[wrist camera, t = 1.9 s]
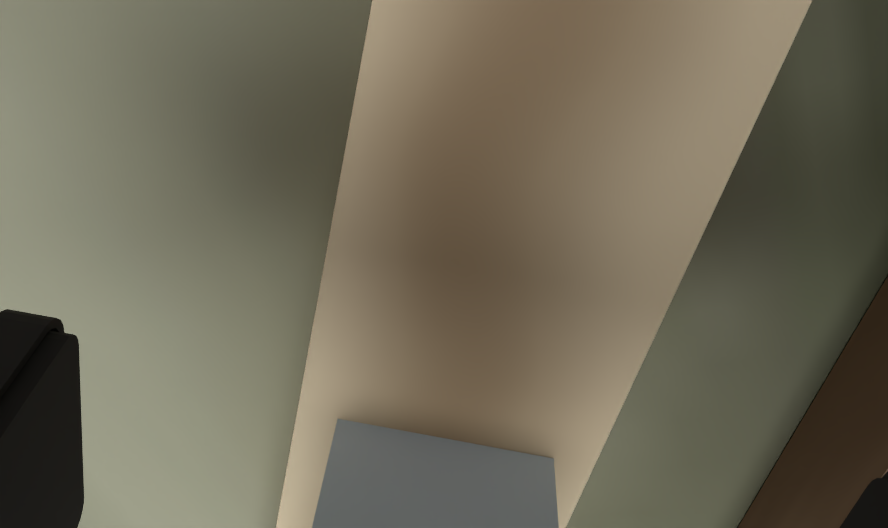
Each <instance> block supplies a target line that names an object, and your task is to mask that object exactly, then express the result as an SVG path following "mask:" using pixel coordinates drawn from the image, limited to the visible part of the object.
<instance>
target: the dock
mask: <svg viewBox="0 0 888 528" xmlns="http://www.w3.org/2000/svg"><path fill="white" fill-rule="evenodd" d="M886 472H888V277H887V278H886V280H885V282H884V283H883V285H882V287H881V288H880V290H879V292H878V293H877V295H876V297H875V298H874V300H873V302H872V303H871V305H870V307H869V309H868V310H867V312H866V314H865V315H864V317H863V319H862V320H861V322H860V324H859V325H858V327H857V329H856V330H855V332H854V334H853V335H852V337H851V339H850V340H849V342H848V344H847V345H846V347H845V349H844V350H843V352H842V354H841V355H840V357H839V359H838V361H837V362H836V364H835V366H834V367H833V369H832V371H831V372H830V374H829V376H828V377H827V379H826V381H825V382H824V384H823V386H822V387H821V389H820V391H819V392H818V394H817V396H816V397H815V399H814V401H813V402H812V404H811V406H810V408H809V409H808V411H807V413H806V414H805V416H804V418H803V419H802V421H801V423H800V424H799V426H798V428H797V429H796V431H795V433H794V434H793V436H792V438H791V439H790V441H789V443H788V444H787V446H786V448H785V449H784V451H783V453H782V454H781V456H780V458H779V460H778V461H777V463H776V465H775V466H774V468H773V470H772V471H771V473H770V475H769V476H768V478H767V480H766V481H765V483H764V485H763V486H762V488H761V490H760V491H759V493H758V495H757V496H756V498H755V500H754V501H753V503H752V505H751V507H750V508H749V510H748V512H747V513H746V515H745V517H744V518H743V520H742V522H741V523H740V525H739V527H738V528H839V527H840V526H841V524H842V523H843V521H844V520H845V518H846V517H847V515H848V514H849V513H850V511H851V510H852V508H853V507H854V505H855V504H856V502H857V501H858V499H859V498H860V496H861V495H862V493H863V492H864V490H865V489H866V487H867V486H868V484H869V483H870V482H871V481H872V480H874V479H876V478H882V477H883V476H884V474H885V473H886Z"/></svg>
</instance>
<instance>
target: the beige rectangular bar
mask: <svg viewBox="0 0 888 528" xmlns="http://www.w3.org/2000/svg"><path fill="white" fill-rule="evenodd" d="M811 2H812V0H372V5H371V11H370V16H369V22H368V27H367V33H366V38H365V44H364V49H363V55H362V60H361V66H360V71H359V76H358V82H357V87H356V93H355V98H354V104H353V109H352V115H351V120H350V126H349V131H348V137H347V142H346V147H345V153H344V158H343V164H342V169H341V175H340V180H339V186H338V191H337V197H336V202H335V208H334V213H333V219H332V224H331V229H330V235H329V240H328V246H327V251H326V257H325V262H324V268H323V273H322V279H321V284H320V290H319V295H318V300H317V306H316V311H315V317H314V322H313V328H312V333H311V339H310V344H309V350H308V355H307V361H306V366H305V371H304V377H303V382H302V388H301V393H300V399H299V404H298V410H297V415H296V421H295V426H294V432H293V437H292V443H291V448H290V453H289V459H288V464H287V470H286V475H285V481H284V486H283V492H282V497H281V503H280V508H279V514H278V519H277V524H276V528H312V525H313V521H314V516H315V512H316V508H317V504H318V499H319V495H320V491H321V487H322V482H323V478H324V474H325V470H326V466H327V461H328V457H329V453H330V449H331V444H332V440H333V436H334V432H335V427H336V423H337V419H342V420H348V421H353V422H359V423H364V424H370V425H375V426H381V427H386V428H391V429H397V430H402V431H408V432H413V433H419V434H424V435H429V436H435V437H440V438H446V439H451V440H456V441H462V442H467V443H473V444H478V445H483V446H489V447H494V448H500V449H505V450H511V451H516V452H521V453H527V454H532V455H538V456H543V457H548V458H554V468H555V482H556V496H557V511H558V525H559V528H566V526H567V523H568V521H569V519H570V517H571V515H572V513H573V511H574V508H575V506H576V504H577V502H578V500H579V498H580V496H581V493H582V491H583V489H584V487H585V485H586V483H587V481H588V479H589V476H590V474H591V472H592V470H593V468H594V466H595V464H596V461H597V459H598V457H599V455H600V453H601V451H602V449H603V447H604V444H605V442H606V440H607V438H608V436H609V434H610V432H611V429H612V427H613V425H614V423H615V421H616V419H617V417H618V414H619V412H620V410H621V408H622V406H623V404H624V402H625V400H626V397H627V395H628V393H629V391H630V389H631V387H632V385H633V382H634V380H635V378H636V376H637V374H638V372H639V370H640V367H641V365H642V363H643V361H644V359H645V357H646V355H647V353H648V350H649V348H650V346H651V344H652V342H653V340H654V338H655V335H656V333H657V331H658V329H659V327H660V325H661V323H662V321H663V318H664V316H665V314H666V312H667V310H668V308H669V306H670V303H671V301H672V299H673V297H674V295H675V293H676V291H677V288H678V286H679V284H680V282H681V280H682V278H683V276H684V274H685V271H686V269H687V267H688V265H689V263H690V261H691V259H692V256H693V254H694V252H695V250H696V248H697V246H698V244H699V241H700V239H701V237H702V235H703V233H704V231H705V229H706V227H707V224H708V222H709V220H710V218H711V216H712V214H713V212H714V209H715V207H716V205H717V203H718V201H719V199H720V197H721V195H722V192H723V190H724V188H725V186H726V184H727V182H728V180H729V177H730V175H731V173H732V171H733V169H734V167H735V165H736V162H737V160H738V158H739V156H740V154H741V152H742V150H743V148H744V145H745V143H746V141H747V139H748V137H749V135H750V133H751V130H752V128H753V126H754V124H755V122H756V120H757V118H758V116H759V113H760V111H761V109H762V107H763V105H764V103H765V101H766V98H767V96H768V94H769V92H770V90H771V88H772V86H773V83H774V81H775V79H776V77H777V75H778V73H779V71H780V69H781V66H782V64H783V62H784V60H785V58H786V56H787V54H788V51H789V49H790V47H791V45H792V43H793V41H794V39H795V36H796V34H797V32H798V30H799V28H800V26H801V24H802V22H803V19H804V17H805V15H806V13H807V11H808V9H809V7H810V4H811Z"/></svg>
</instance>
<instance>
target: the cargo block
mask: <svg viewBox="0 0 888 528" xmlns="http://www.w3.org/2000/svg"><path fill="white" fill-rule="evenodd" d="M312 528H559V525H558V511H557V496H556V482H555V468H554V458H548V457H543V456H538V455H532V454H527V453H521V452H516V451H511V450H505V449H500V448H494V447H489V446H483V445H478V444H473V443H467V442H462V441H456V440H451V439H446V438H440V437H435V436H429V435H424V434H419V433H413V432H408V431H402V430H397V429H391V428H386V427H381V426H375V425H370V424H364V423H359V422H353V421H348V420H342V419H337V423H336V427H335V432H334V436H333V440H332V444H331V449H330V453H329V457H328V461H327V466H326V470H325V474H324V478H323V482H322V487H321V491H320V495H319V499H318V504H317V508H316V512H315V516H314V521H313V525H312Z"/></svg>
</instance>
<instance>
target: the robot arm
mask: <svg viewBox="0 0 888 528" xmlns="http://www.w3.org/2000/svg"><path fill="white" fill-rule="evenodd" d="M83 504H84V485H83V456H82V427H81V397H80V368H79V344H78V339H77V337H76V336H75V335H73V334H67V333H64V327H63V324H62V322H61V320H60V319H57V318H53V317H47V316H42V315H36V314H30V313H25V312H19V311H14V310H8V309H7V310H4V311H1V312H0V528H77V527H78V524H79V521H80V518H81V514H82V510H83ZM839 528H888V472H886V473H885V474H884V476H883V477H882V478H876V479H874V480H872V481H871V482H870V483H869V484H868V486H867V487H866V489H865V490H864V492H863V493H862V495H861V496H860V498H859V499H858V501H857V502H856V504H855V505H854V507H853V508H852V510H851V511H850V513H849V514H848V515H847V517H846V518H845V520H844V521H843V523H842V524H841V526H840V527H839Z"/></svg>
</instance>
